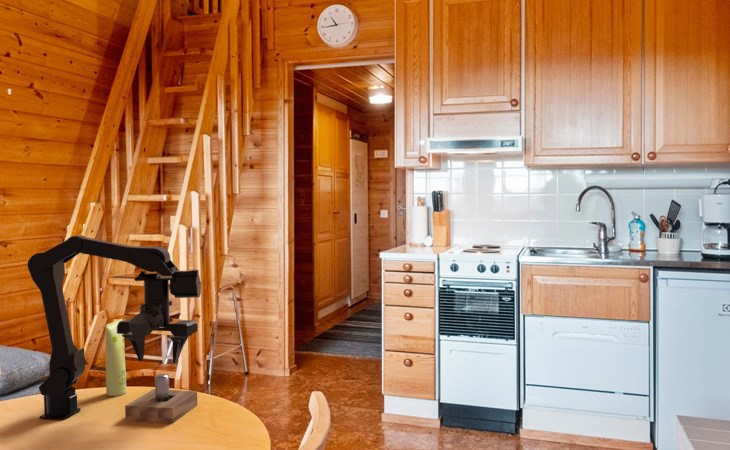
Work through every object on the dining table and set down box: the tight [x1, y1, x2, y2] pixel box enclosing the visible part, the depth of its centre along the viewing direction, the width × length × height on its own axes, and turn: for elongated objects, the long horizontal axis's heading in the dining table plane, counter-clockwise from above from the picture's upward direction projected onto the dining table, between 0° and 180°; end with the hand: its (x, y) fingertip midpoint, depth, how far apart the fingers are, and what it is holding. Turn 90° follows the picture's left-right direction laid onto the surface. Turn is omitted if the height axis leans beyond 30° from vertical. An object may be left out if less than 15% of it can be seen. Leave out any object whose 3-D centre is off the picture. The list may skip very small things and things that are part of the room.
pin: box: [154, 373, 170, 402], centre depth 138 cm, size 3×3×8 cm
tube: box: [105, 318, 127, 397], centre depth 153 cm, size 6×5×20 cm
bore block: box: [124, 388, 198, 424], centre depth 139 cm, size 12×12×4 cm
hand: (157, 362), depth 140 cm, fingers open, 9 cm apart
